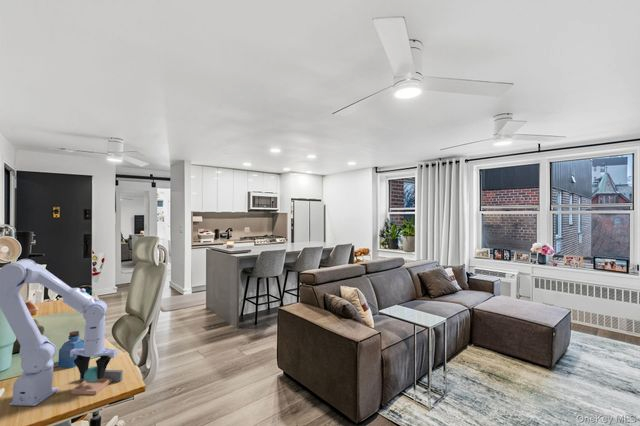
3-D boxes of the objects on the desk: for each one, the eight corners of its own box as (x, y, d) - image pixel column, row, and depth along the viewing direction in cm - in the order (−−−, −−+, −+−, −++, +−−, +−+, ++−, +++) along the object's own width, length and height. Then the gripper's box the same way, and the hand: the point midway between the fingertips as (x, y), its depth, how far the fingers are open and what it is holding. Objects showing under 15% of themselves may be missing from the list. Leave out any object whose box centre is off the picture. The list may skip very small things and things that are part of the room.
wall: (120, 381, 112) (120, 371, 112) (79, 380, 112) (80, 370, 112) (122, 380, 113) (122, 370, 113) (82, 378, 113) (82, 369, 113)
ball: (95, 385, 106) (95, 370, 106) (79, 385, 105) (80, 370, 105) (104, 378, 110) (105, 363, 111) (89, 377, 110) (90, 363, 110)
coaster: (96, 394, 104) (96, 390, 104) (71, 393, 104) (71, 390, 104) (111, 381, 112) (111, 378, 112) (88, 381, 112) (88, 377, 112)
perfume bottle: (86, 360, 126) (88, 330, 126) (73, 367, 120) (74, 336, 120) (72, 359, 127) (73, 329, 127) (58, 366, 121) (59, 334, 121)
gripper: (123, 333, 112) (121, 372, 112) (81, 332, 112) (79, 371, 112) (110, 341, 105) (108, 382, 105) (65, 340, 105) (63, 381, 104)
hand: (92, 377), depth 108 cm, fingers closed on ball, 5 cm apart
